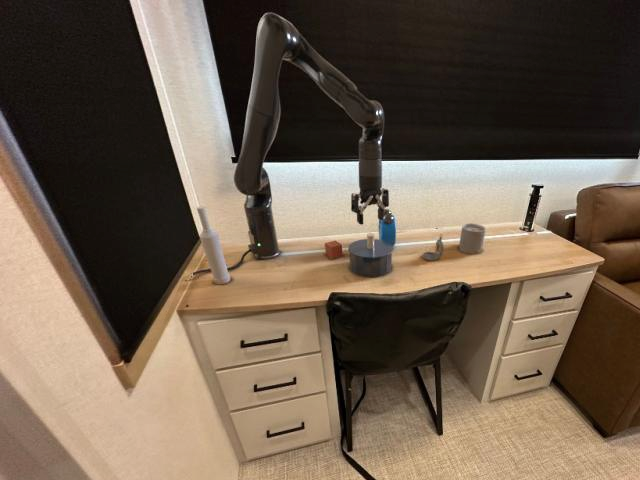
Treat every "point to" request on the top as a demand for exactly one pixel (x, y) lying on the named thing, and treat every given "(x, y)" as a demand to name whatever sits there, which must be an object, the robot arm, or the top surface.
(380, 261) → the bowl
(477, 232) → the grey cylinder
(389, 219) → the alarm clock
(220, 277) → the bottle
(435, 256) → the pocket watch
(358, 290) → the top surface
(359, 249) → the lid
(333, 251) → the block
